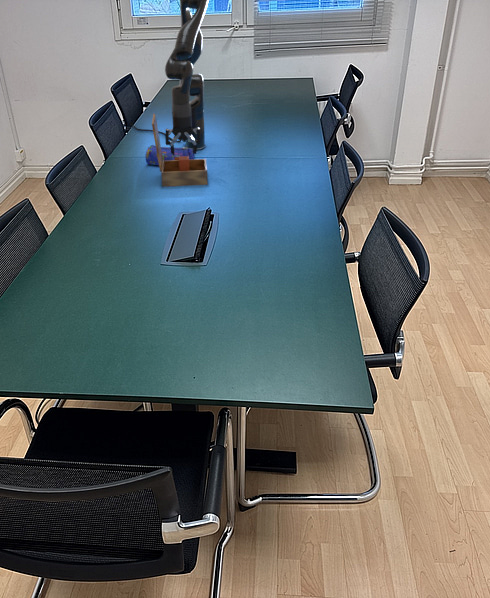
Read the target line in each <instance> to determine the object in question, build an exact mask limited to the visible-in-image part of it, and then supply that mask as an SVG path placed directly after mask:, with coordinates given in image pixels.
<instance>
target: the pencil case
mask: <svg viewBox="0 0 490 598" xmlns="http://www.w3.org/2000/svg"><path fill="white" fill-rule="evenodd" d="M161 151H162V157H163V161H167V160H179V156H189V160H191V159H196V157H195V155H197V152H196V153H195V154H193V150H192V149H190V148H186V147H184V146H183V147H176V146H174V155H173V154H171V147H170V146H161ZM145 162H146V164H147V165H150V166H159V162H158V157H157V151H156V145H154V144H151V145H149V146H148V147H147V149H146V152H145Z"/></svg>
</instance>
